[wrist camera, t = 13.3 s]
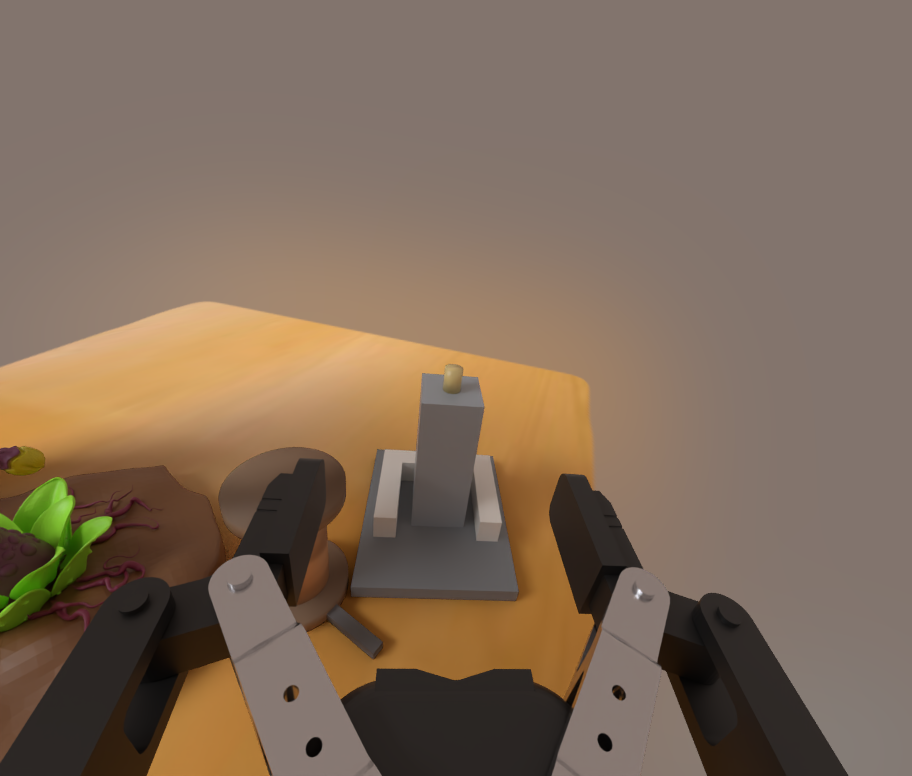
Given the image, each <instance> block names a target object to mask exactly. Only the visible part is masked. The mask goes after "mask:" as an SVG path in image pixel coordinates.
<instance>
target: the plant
mask: <svg viewBox="0 0 912 776" xmlns="http://www.w3.org/2000/svg"><path fill="white" fill-rule="evenodd" d="M44 464H45V457H44V454H43V453H42V452H41V451H39V450H37V449H34V448H31V447H25V446H23V447H20V448H19V447H17V446H13V447H11V448H1V449H0V469H1V470H5V471H6V472H7V473H8V474H13V475H29V474H33V473H35V472H37V471H39V470H40V469H41V468H43V467H44ZM225 562H226V555H225V549H224V545H223V541H222V537H221V534H220V531H219V528H218V526H217V523H216V520H215V517H214V514H213V511H212V508H211V505H210V502H209V500H208V498H207V497H206V496H204V495H202V494H198V493H195V492H192V491H189V490H187V489H185V488H183V487H182V486H181V485H180V484H179V483H178V482H177V481H176V480H175V479H174V478H173V476H172V475H171V474H170V473H169V472H168V470H167V468H166V467H165V466H156V467H147V468H132V469H124V470H117V471H110V472H102V473H93V474H83V475H77V476H72V477H68V478H65V479H62V478H60V477H56V478H53V479H51V480H49V481H47V482H46V483H44V484H42V485H41V486H39V487H38V488H36V489H34V490H31V491H29V492H26V493H24V494H21V495H19V496H15V497H10V498H3V499H0V762H1V761H2V759H3V758H4V756H5V755H6V753H7V752H8V750H9V748H10V747H11V745H12V744H13V742H14V741H15V739H16V738H17V736H18V734H19V733H20V731H21V730H22V728H23V727H24V725H25V724H26V722H27V720H28V719H29V717H30V716H31V714H32V713H33V711H34V710H35V708H36V706H37V705H38V703H39V702H40V700H41V699H42V697H43V695H44V694H45V692H46V691H47V689H48V688H49V686H50V685H51V683H52V681H53V680H54V678H55V677H56V675H57V674H58V672H59V671H60V669H61V667H62V666H63V664H64V663H65V661H66V660H67V658H68V657H69V655H70V653H71V652H72V650H73V649H74V647H75V646H76V644H77V643H78V641H79V639H80V638H81V636H82V635H83V633H84V632H85V630H86V628H87V627H88V625H89V624H90V622H91V621H92V619H93V618H94V616H95V614H96V613H97V611H98V610H99V608H100V607H101V605H102V604H103V602H104V601H105V600H106V599H107V598H108V597H109V596H110V595H111V594H112V593H113V592H114V591H116V590H117V589H118V588H120V587H121V586H123V585H125V584H127V583H129V582H131V581H134V580H137V579H140V578H145V577H157V578H160V579H163V580H164V581H166V582H167V584H168V585H169V587H172V586H176V585H180V584H184V583H188V582H192V581H196V580H200V579H203V578H206V577H208V576H211V575H213V574H214V572H215V571H216V570H217V569H218V568H219V567H220V566H221V565H222V564H224V563H225Z"/></svg>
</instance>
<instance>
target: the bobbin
mask: <svg viewBox="0 0 912 776" xmlns="http://www.w3.org/2000/svg"><path fill="white" fill-rule="evenodd" d="M299 458H312V459H324V463H325V479H326V503H325V509H324V513H323V516H322V520H321V523H320V527H319V530H318V534H317V537H316V541H315V544H314V548H313V551H312V554H311V558H310V561H309V565H308V568H307V572H306V575H305V579H304V582H303V585H302V589H301V592H300V596H299V599H298V603H297V606H296V607H289V608H290V610H291V612H292V614H293V616H294V618H295V620H296V622H297V623H301V624H302V626H303V627H304V629H305V630H306V632H307V631H309V630H312V629H314V628H315V627H317V626H319V625H321V624H322V623H323V622H325V621H326V620H328V621H329V622H330V623H331V624H333V625H334V626H335V627H336V628H337V629H338V630H339V631H341V632H342V633H343V634H344V635H345V636H346V637H348V638H349V639H350V640H351V641H352V642H353V643H355V644H356V645H357V646H358V647H359V648H360V649H362V650H363V651H364V652H365V653H366V654H367V655H369V656H370V657H371V658H372V659H374V658H375V657H376V655H377V654H378V653H379V652H380V650H381V649H382V648H383V642H382V641H381V640H380V639H379V638H377V637H376V636H375V635H374V634H372V633H371V632H370V631H369V630H368V629H366V628H365V627H364V626H363V625H362V624H360V623H359V622H358V621H357V620H355V619H354V618H353V617H352V616H351V615H349V614H348V613H347V612H346V611H344V610H343V609H342V608H341V607H340V605H341V603H342V601H343V600H344V597H345V595H346V592H347V588H348V563H347V560H346V557H345V555H344V553H343V552H342V550H341V549H340V548H339V547H338V546H337V545H335V544H334V543H333V542H331V541H329V540H327V525H328V524H329V523H330V522H331V521H332V520H333V519H334V518H335V517H336V516H337V515H338V513H339V512H340V510H341V509H342V507H343V505H344V502H345V497H346V477H345V472H344V470H343V467H342V466H341V464H340V463H339V462H338V461H337V460H336V459H335V458H333V457H332V456H330V455H329V454H327V453H324V452H322V451H319V450H315V449H310V448H302V447H292V448H282V449H276V450H272V451H268V452H265V453H262V454H260V455H257V456H255V457H253V458H251V459H249V460H247V461H245V462H244V463H242V464H241V465H239V466H238V467H237V468H236V469H234V470H233V471H232V472H231V473H230V474H229V475H228V477H227V478H226V479H225V481H224V482H223V484H222V486H221V489H220V492H219V505H220V510H221V514H222V518H223V521H224V523H225V525H226V527H227V528H228V529H229V531H230V532H231V533H233V534H234V535H235V536H236V537H238V538H240V539H243V537H244V534H245V532H246V530H247V528H248V526H249V524H250V522H251V520H252V518H253V515H254V513H255V512H256V510H257V507H258V505H259V503H260V501H261V500H262V497H263V494H264V492H265V490H266V488H267V486H268V484H269V483H270V482H271V481H273V480H274V479H275V478H276V477H277V476H278V475H279V474H280V473H289V474H293V471H294V469H295V466H296V464H297V462H298V460H299Z"/></svg>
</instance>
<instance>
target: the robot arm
mask: <svg viewBox="0 0 912 776" xmlns="http://www.w3.org/2000/svg"><path fill="white" fill-rule="evenodd" d="M325 503H326V479H325V463H324V459H312V458H299V460H298V462H297V464H296V466H295V469H294V471H293V474H289V473H280V474H279V475H278V476H277V477H276V478H275V479H274V480H273V481H271V482H270V483H269V484H268V486H267V488H266V490H265V492H264V494H263V497H262V500H261V501H260V503H259V505H258V507H257V510H256V512H255V513H254V515H253V518H252V520H251V522H250V524H249V526H248V528H247V530H246V532H245V534H244V537H243V539H242V541H241V543H240V545H239V547H238V549H237V551H236V553H235V555H234V557H233V558H232V559H231V560H229V561H227V562H225V563H224V564H222V565H221V566H220V567H219V568H218V569H217V570H216V571H215V572H214V574H213V575H211V576H208V577H206V578H203V579H200V580H196V581H192V582H188V583H184V584H180V585H176V586H172V587H169V585H168V584H167V582H166V581H164V580H163V579H160V578H157V577H145V578H140V579H137V580H134V581H131V582H129V583H127V584H125V585H123V586H121V587H120V588H118V589H117V590H116V591H114V592H113V593H112V594H111V595H110V596H109V597H108V598H107V599H106V600H105V601H104V602H103V604H102V605H101V607H100V608H99V610H98V611H97V613H96V614H95V616H94V618H93V619H92V621H91V622H90V624H89V625H88V627H87V628H86V630H85V632H84V633H83V635H82V636H81V638H80V639H79V641H78V643H77V644H76V646H75V647H74V649H73V650H72V652H71V653H70V655H69V657H68V658H67V660H66V661H65V663H64V664H63V666H62V667H61V669H60V671H59V672H58V674H57V675H56V677H55V678H54V680H53V681H52V683H51V685H50V686H49V688H48V689H47V691H46V692H45V694H44V695H43V697H42V699H41V700H40V702H39V703H38V705H37V706H36V708H35V710H34V711H33V713H32V714H31V716H30V717H29V719H28V720H27V722H26V724H25V725H24V727H23V728H22V730H21V731H20V733H19V734H18V736H17V738H16V739H15V741H14V742H13V744H12V745H11V747H10V748H9V750H8V752H7V753H6V755H5V756H4V758H3V759H2V761H1V762H0V776H147V773H148V771H149V768H150V766H151V763H152V761H153V758H154V756H155V753H156V751H157V748H158V746H159V743H160V741H161V738H162V736H163V733H164V731H165V728H166V726H167V723H168V721H169V718H170V716H171V713H172V711H173V708H174V706H175V703H176V701H177V698H178V696H179V693H180V691H181V688H182V686H183V683H184V681H185V678H186V676H187V673H188V671H189V670H192V669H195V668H198V667H201V666H204V665H207V664H210V663H213V662H216V661H220V660H223V659H226V658H230V660H231V663H232V666H233V669H234V672H235V675H236V678H237V681H238V684H239V687H240V689H241V692H242V695H243V698H244V701H245V704H246V707H247V710H248V713H249V716H250V719H251V722H252V725H253V728H254V731H255V734H256V737H257V740H258V743H259V746H260V749H261V752H262V754H263V757H264V760H265V763H266V766H267V769H268V772H269V775H270V776H640V774H641V770H642V765H643V760H644V755H645V750H646V745H647V740H648V736H649V731H650V726H651V721H652V715H653V711H654V706H655V702H656V697H657V692H658V687H659V682H660V677H661V669H662V670H665V671H666V672H667V674H668V677H669V679H670V682H671V684H672V687H673V690H674V692H675V695H676V697H677V700H678V702H679V705H680V708H681V710H682V713H683V715H684V717H685V720H686V723H687V725H688V728H689V731H690V733H691V735H692V738H693V741H694V743H695V746H696V748H697V751H698V754H699V756H700V759H701V761H702V764H703V766H704V769H705V771H706V774H707V776H848V774H847V773H846V771H845V769H844V768H843V766H842V764H841V763H840V761H839V760H838V758H837V756H836V755H835V753H834V751H833V750H832V748H831V747H830V745H829V743H828V742H827V740H826V739H825V737H824V735H823V734H822V732H821V730H820V729H819V727H818V726H817V724H816V722H815V721H814V719H813V717H812V716H811V714H810V713H809V711H808V709H807V708H806V706H805V704H804V703H803V701H802V700H801V698H800V696H799V695H798V693H797V691H796V690H795V688H794V686H793V685H792V683H791V682H790V680H789V678H788V677H787V675H786V674H785V672H784V670H783V669H782V667H781V665H780V664H779V662H778V661H777V659H776V658H775V656H774V654H773V652H772V651H771V649H770V648H769V646H768V644H767V643H766V641H765V639H764V638H763V636H762V635H761V633H760V631H759V630H758V628H757V626H756V625H755V623H754V622H753V620H752V618H751V617H750V616H749V614H748V613H747V612H746V611H745V610H744V609H743V608H742V607H741V606H740V605H739V604H738V603H736V602H735V601H733V600H732V599H730V598H728V597H726V596H724V595H721V594H717V593H708V594H706V595H704V596H703V597H702V598H701V599H700V601H699V602H698V601H695V600H692V599H689V598H686V597H683V596H680V595H677V594H674V593H671V592H669V591H667V589H666V587H665V586H664V584H663V583H662V582H661V581H660V580H659V579H658V578H657V577H656V576H654V575H653V574H652V573H650V572H648V571H646V570H644V569H643V568H642V566H641V564H640V561H639V560H638V557H637V555H636V553H635V551H634V549H633V548H632V545H631V543H630V541H629V539H628V538H627V535H626V533H625V531H624V529H622V525H621V523H620V521H619V519H618V518H617V515H616V513H615V511H614V509H613V507H612V505H611V503H610V502H609V501H608V500H607V499H606V498H605V497H604V496H603V495H602V494H601V492H600V491H592V489H591V487H590V484H589V482H588V480H587V478H586V477H585V476H584V475H576V474H561V476H560V478H559V480H558V483H557V486H556V489H555V492H554V495H553V498H552V501H551V504H550V510H549V516H550V523H551V526H552V529H553V532H554V536H555V539H556V542H557V545H558V548H559V552H560V555H561V558H562V561H563V564H564V568H565V571H566V574H567V577H568V580H569V584H570V587H571V590H572V593H573V596H574V600H575V603H576V606H577V609H578V612H579V614H592V616H593V619H594V622H595V623H594V625H593V627H592V629H591V631H590V634H589V636H588V639H587V642H586V644H585V647H584V649H583V652H582V655H581V657H580V660H579V662H578V665H577V668H576V670H575V673H574V675H573V678H572V680H571V683H570V685H569V687H568V689H567V691H566V694H565V696H564V698H563V699H562V698H561V697H560V696H558V695H557V694H556V693H554V692H553V691H551V690H549V689H548V688H546V687H544V686H542V685H539V684H537V683H534V682H533V678H532V673H531V669H493V670H490V671H487V672H484V673H480V674H477V675H474V676H471V677H467V678H464V679H461V680H451V679H448V678H444V677H441V676H438V675H434V674H431V673H428V672H425V671H421V670H418V669H377V673H376V681H374V682H371V683H367V684H365V685H363V686H361V687H359V688H357V689H355V690H353V691H352V692H350V693H349V694H347V695H346V696H345V697H343V698H342V699H341V700H340V698H339V696H338V694H337V692H336V690H335V688H334V686H333V684H332V682H331V680H330V678H329V676H328V674H327V672H326V670H325V668H324V666H323V664H322V662H321V660H320V658H319V656H318V654H317V652H316V650H315V648H314V646H313V644H312V642H311V640H310V638H309V636H308V634H307V632H306V630H305V629H304V627H303V626H302V624H301V623H297V622H296V620H295V618H294V616H293V614H292V612H291V610H290V608H289V607H296V606H297V603H298V599H299V596H300V592H301V589H302V585H303V582H304V579H305V575H306V572H307V568H308V565H309V561H310V558H311V554H312V551H313V548H314V544H315V541H316V537H317V534H318V530H319V527H320V523H321V520H322V516H323V513H324V509H325Z"/></svg>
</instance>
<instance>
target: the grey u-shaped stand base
mask: <svg viewBox="0 0 912 776" xmlns="http://www.w3.org/2000/svg"><path fill="white" fill-rule="evenodd" d="M415 457H416V451H406V450H389V449H385V450H379V449H377V454H376V460H375V465H374V470H373V475H372V480H371V485H370V491H369V496H368V501H367V506H366V511H365V516H364V522H363V527H362V532H361V537H360V542H359V547H358V553H357V558H356V563H355V568H354V573H353V578H352V584H351V597H385V598H424V599H463V600H502V601H516V599H517V596H518V593H519V590H518V585H517V580H516V575H515V570H514V564H513V559H512V554H511V549H510V543H509V538H508V533H507V528H506V523H505V517H504V512H503V507H502V502H501V496H500V491H499V486H498V481H497V475H496V470H495V465H494V460H493V456H489V455H476V458H475V464H474V470H473V476H472V481H471V487H470V493H469V499H468V504H467V510H466V516H465V521H464V527H433V526H411V520H412V499H413V482H414V469H415Z"/></svg>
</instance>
